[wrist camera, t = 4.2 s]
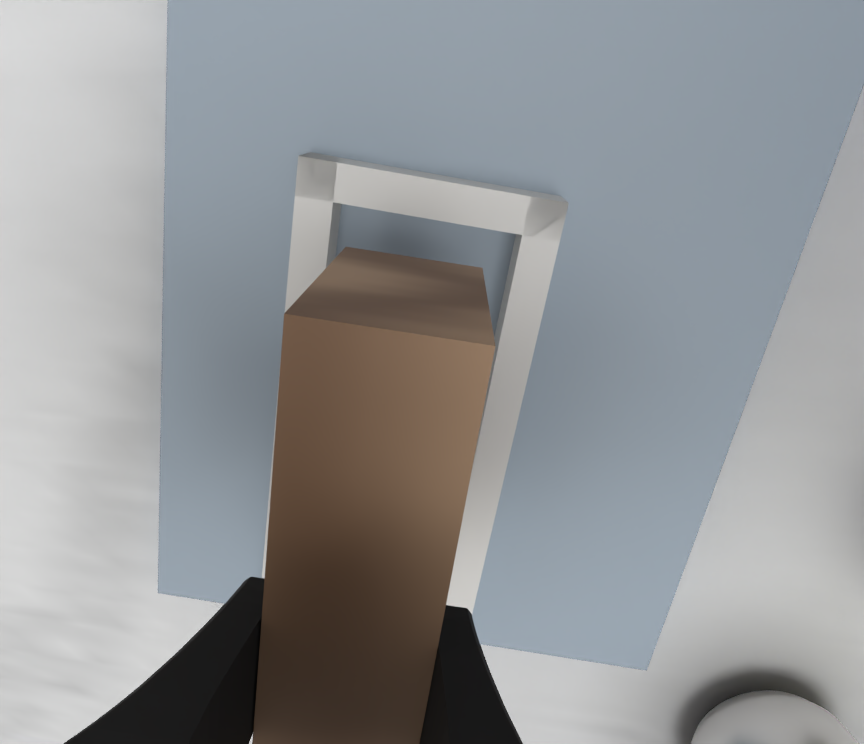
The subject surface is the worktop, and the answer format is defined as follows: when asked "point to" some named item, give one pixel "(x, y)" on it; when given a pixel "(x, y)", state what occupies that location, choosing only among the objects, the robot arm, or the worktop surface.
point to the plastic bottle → (770, 721)
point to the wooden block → (368, 494)
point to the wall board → (500, 264)
